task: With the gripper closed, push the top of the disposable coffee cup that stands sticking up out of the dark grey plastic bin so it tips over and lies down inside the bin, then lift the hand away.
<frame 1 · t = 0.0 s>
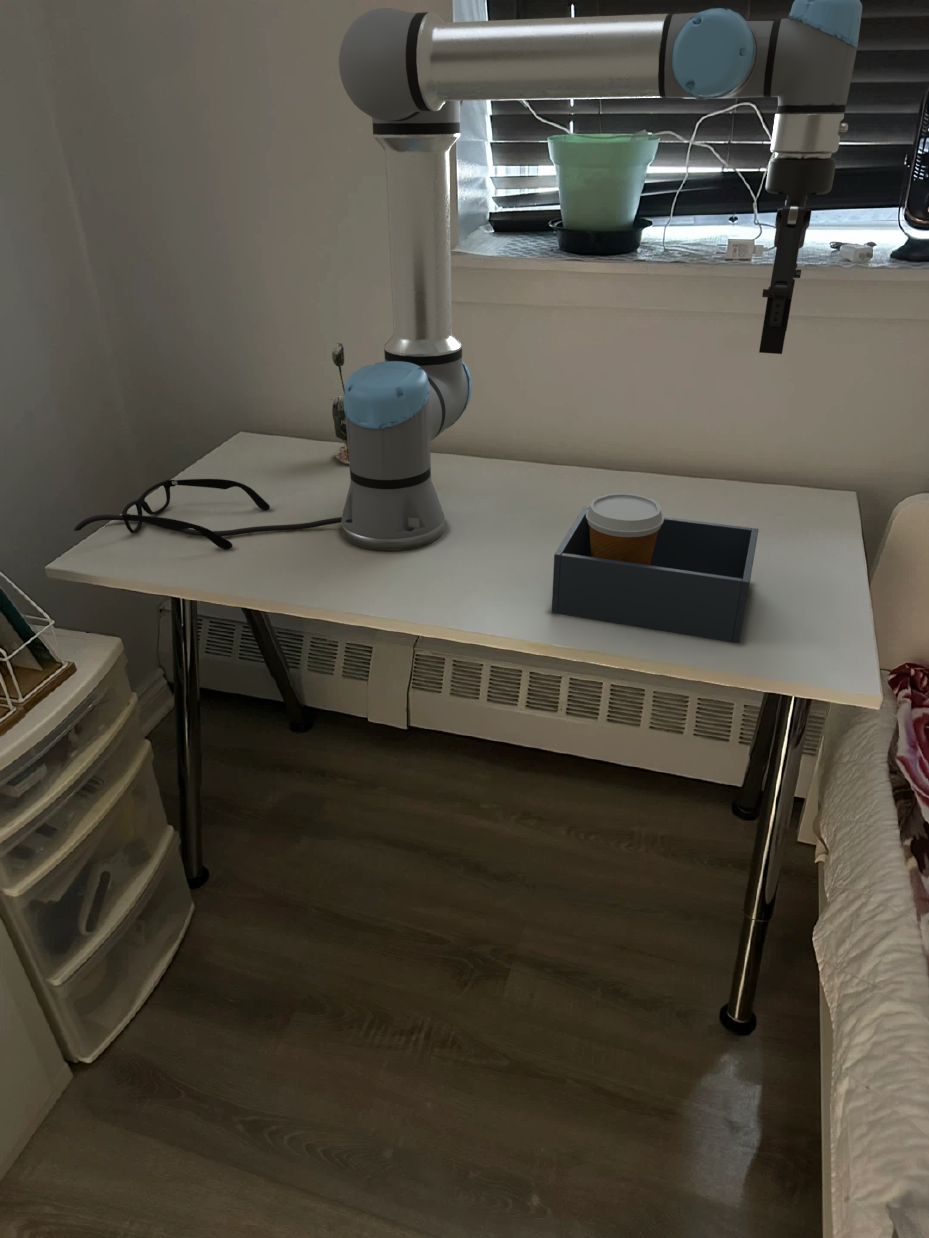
hand: (773, 341, 115), 28 cm above the table, tool pointing down, fingers open, 13 cm apart
glasses: (196, 526, 134), on the table
bin: (652, 598, 113), on the table
disposable coffee cup: (617, 594, 115), resting in bin
plant with pod: (354, 460, 159), on the table
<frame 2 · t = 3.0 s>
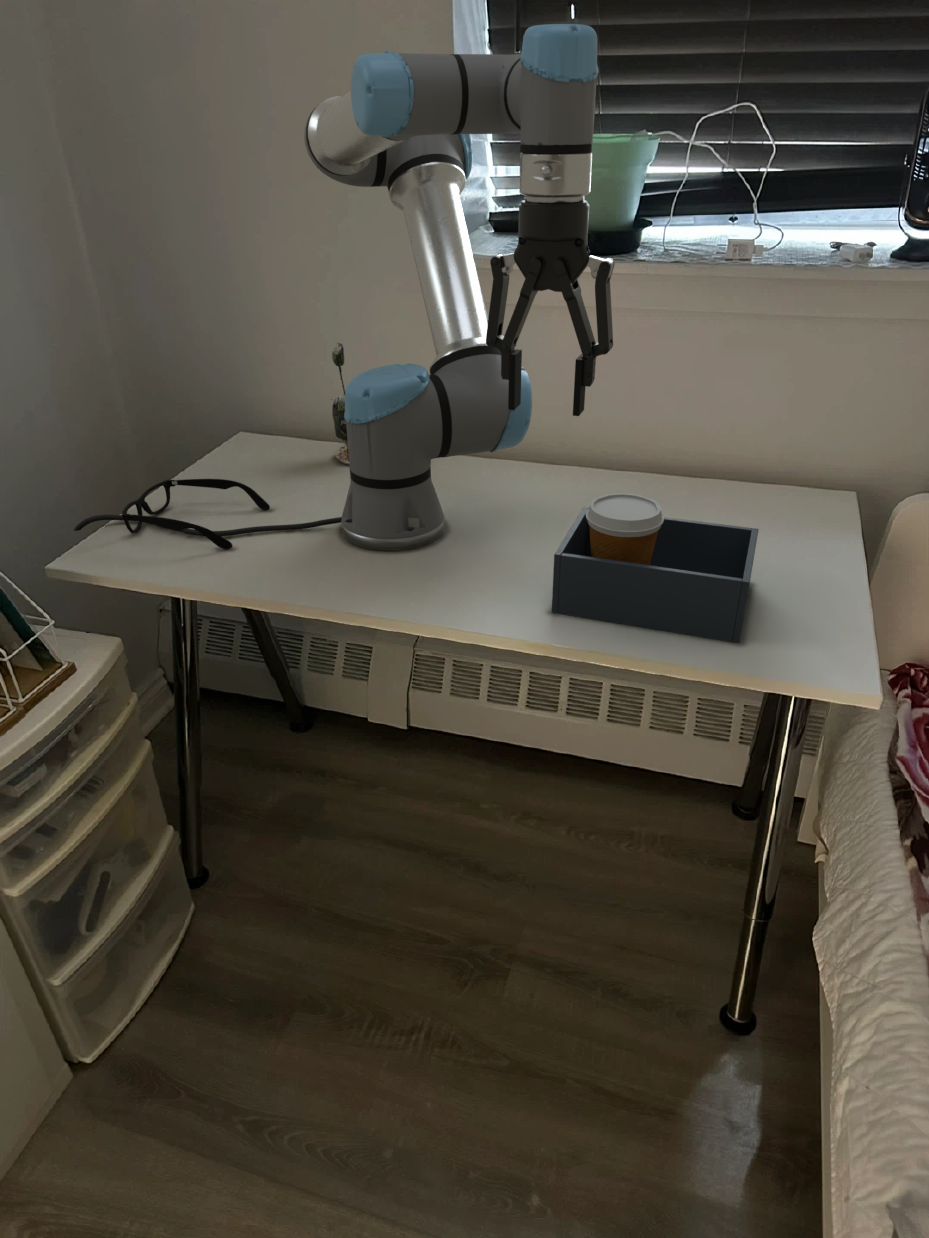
hand: (546, 409, 106), 23 cm above the table, tool pointing down, fingers open, 7 cm apart
nothing on the table moved.
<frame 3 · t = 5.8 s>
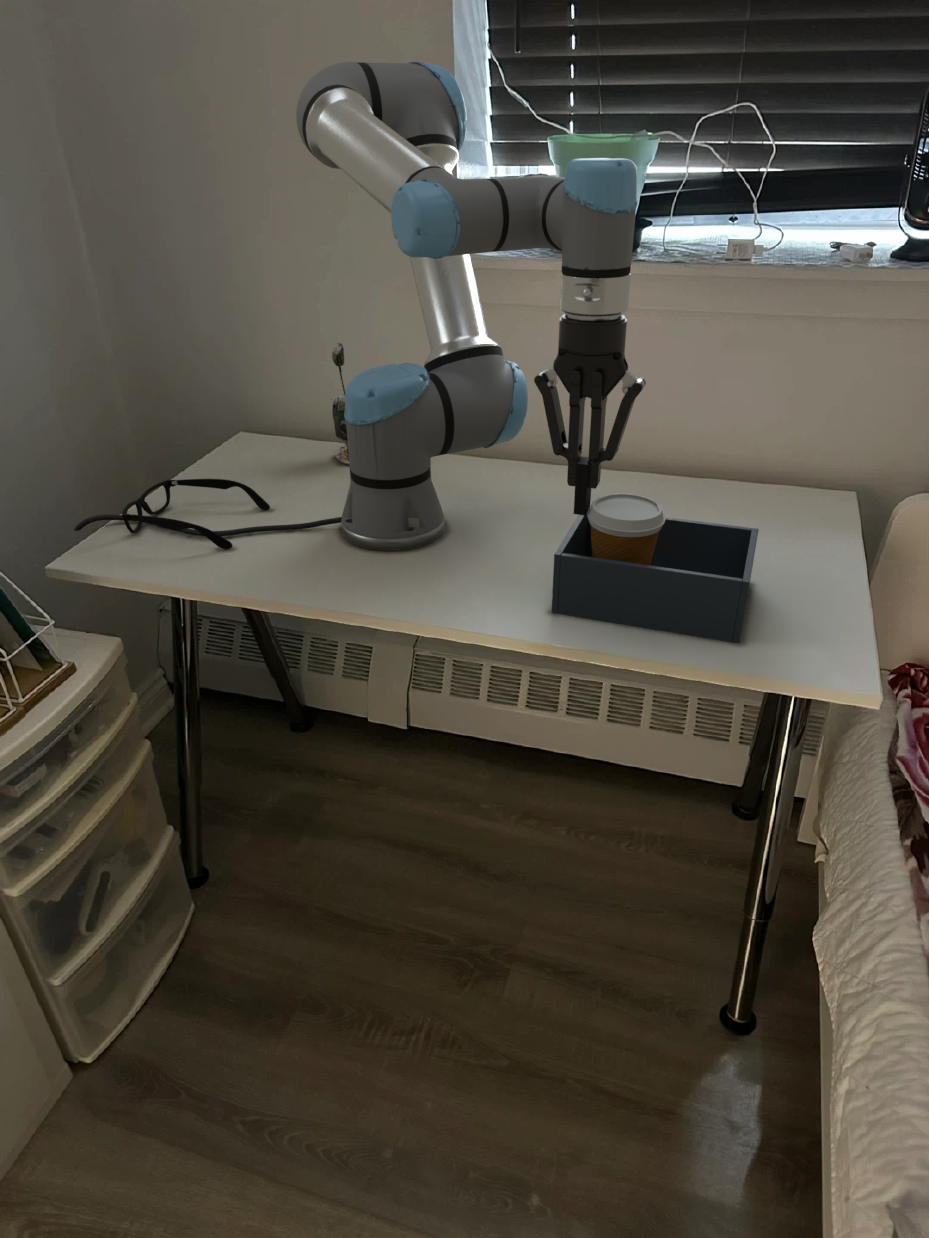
hand: (581, 510, 110), 11 cm above the table, tool pointing down, fingers closed
disposable coffee cup: (617, 593, 115), resting in bin, touching gripper
everything else where it was.
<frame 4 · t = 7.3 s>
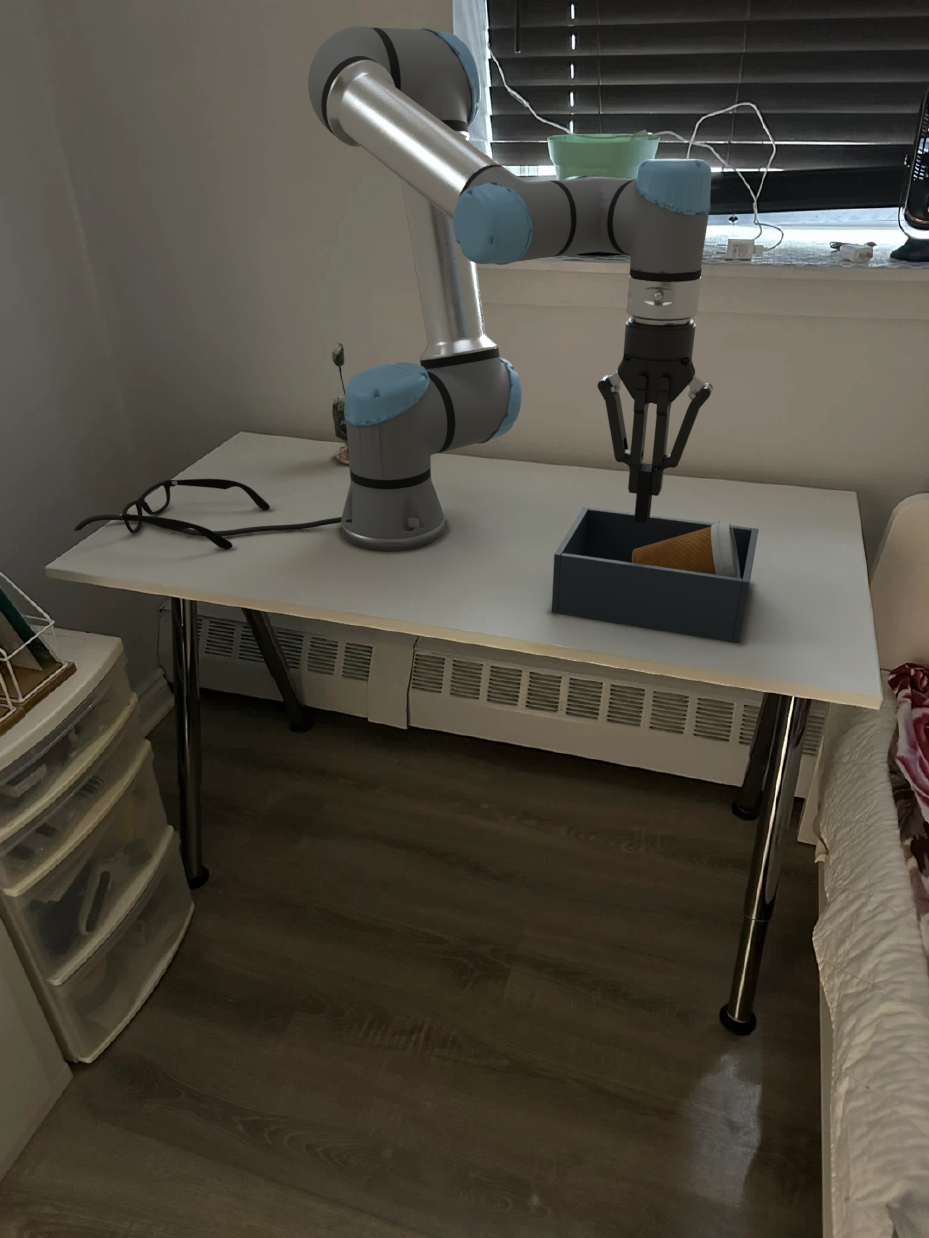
hand: (642, 518, 108), 11 cm above the table, tool pointing down, fingers closed
disposable coffee cup: (636, 573, 112), point 3 cm above the table, touching bin
everything else where it was.
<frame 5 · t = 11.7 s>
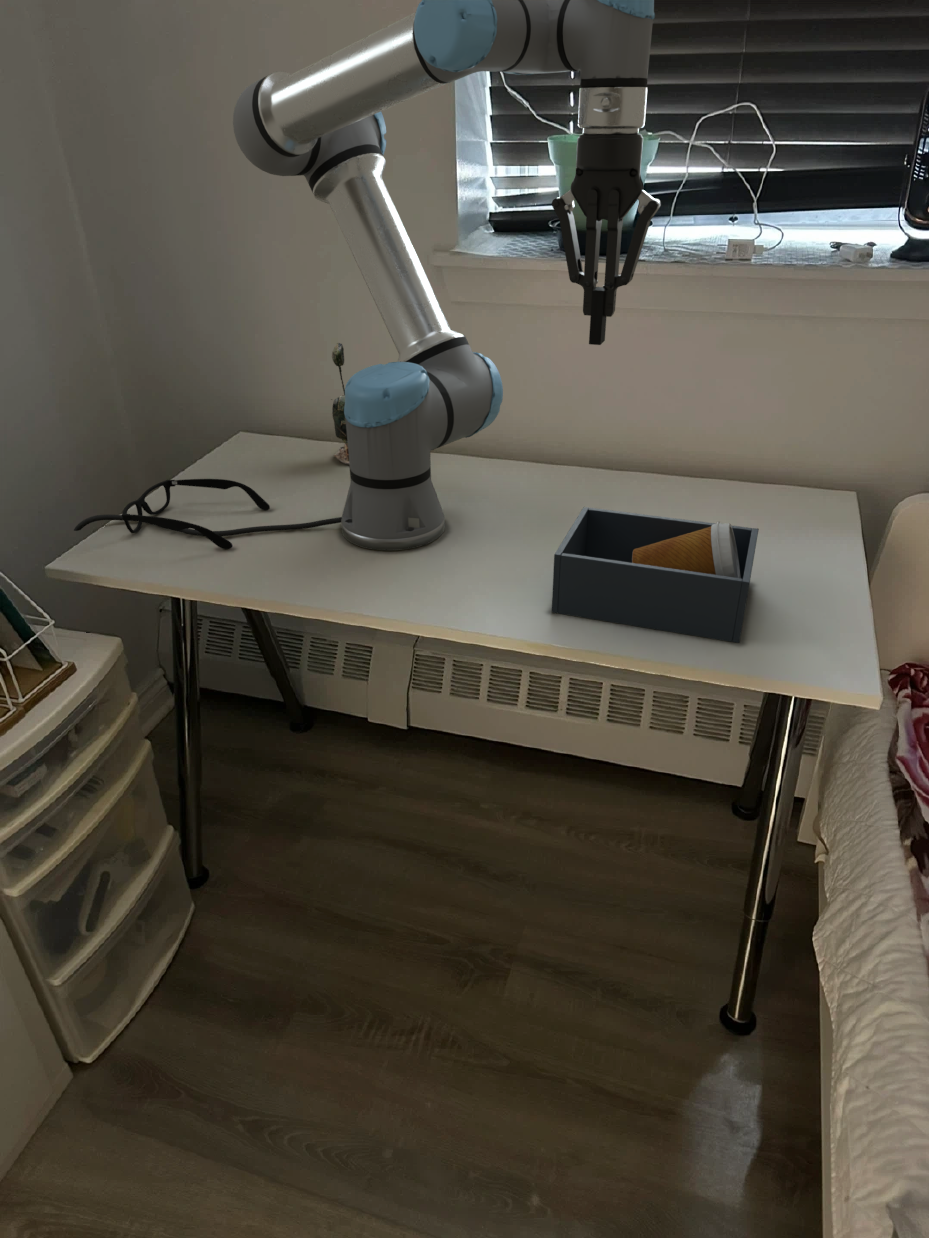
hand: (596, 342, 113), 28 cm above the table, tool pointing down, fingers closed
nothing on the table moved.
at the end: disposable coffee cup tilted 73°; disposable coffee cup inside the target area on the bin (2.4 cm from its centre), point 3.0 cm above the bin's base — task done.
